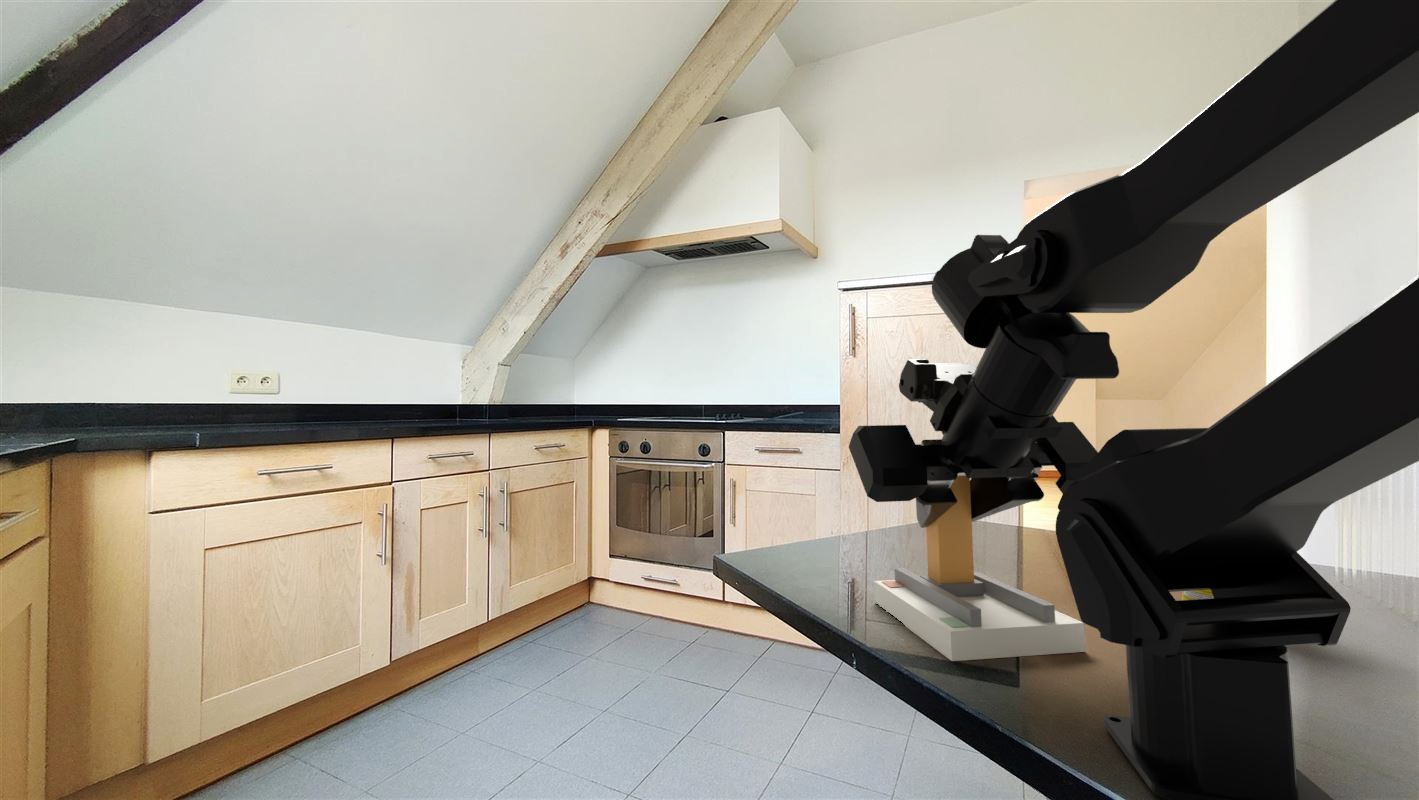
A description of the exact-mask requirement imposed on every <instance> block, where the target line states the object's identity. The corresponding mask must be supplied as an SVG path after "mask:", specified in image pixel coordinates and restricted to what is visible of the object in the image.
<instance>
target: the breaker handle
mask: <svg viewBox="0 0 1419 800" xmlns="http://www.w3.org/2000/svg"><path fill="white" fill-rule="evenodd" d="M970 480H971V478H967V476H966V475H959V476H957V478H956V480H955V481H954V482H953V483H952V485H951V486H950V488H951V490H952V492H953V493H954V495H955V497H956V499H957V503H956V504H955V505H953V506H952V507H951V508H950V509H949V510H947V511H946V512H945V513H944V514H943V515H941V516H940V517H939V518H938V519H937V520H936V521H934V522H933V523H932V524H930V525H929V526H927V527H925V529H926V530H925V531H926V551H927V552H926V553H927V554H926V555H927V557H926V558H927V575H919V577H921V578H923V579H925V580H927V581H929V582H931V583H933V584H934V585H936V586H938V587H940V588H942V589H944V590H946V591H948V592H949V593H951V594H953V595H955V596H957V597H961V596H979V595H984V585H983V583H982V582H980V581H978V580H976V579H974V571H975V569H974V568H975V567H974V565H975V564H974V548H973V547H974V546H973V545H974V544H973V524H972V523H973V522H972V518H971V495H970Z"/></svg>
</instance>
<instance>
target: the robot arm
mask: <svg viewBox="0 0 1419 800" xmlns="http://www.w3.org/2000/svg"><path fill="white" fill-rule="evenodd" d="M1417 114H1419V0H1333V1H1332V2H1331V3H1330V4H1329V5H1328V6H1326V7H1325V8H1324V9H1322V10H1321V11H1320V12H1319V13H1318V14H1317V15H1315V16H1314V17H1313V18H1312V19H1311V20H1309V21H1308V22H1307V23H1306V24H1305V25H1304V26H1302V27H1301V28H1300V29H1298V31H1296V32H1295V33H1294V34H1293V35H1291V36H1290V37H1289V38H1288V39H1287V40H1285V41H1284V42H1283V43H1282V44H1281V45H1279V47H1277V48H1276V49H1275V50H1274V51H1272V52H1271V53H1270V54H1269V55H1268V56H1266V57H1265V58H1264V59H1263V60H1262V61H1261V62H1259V63H1258V64H1257V65H1255V67H1253V68H1252V69H1251V70H1250V71H1248V73H1246V74H1245V75H1244V76H1243V77H1241V78H1240V79H1239V80H1238V81H1237V82H1235V83H1234V84H1232V86H1231V87H1229V88H1228V89H1227V90H1226V91H1225V92H1223V93H1222V94H1221V95H1220V96H1218V97H1217V98H1216V99H1215V100H1214V101H1212V102H1211V103H1210V104H1209V105H1208V106H1207V107H1205V108H1204V109H1203V110H1202V111H1201V112H1200V113H1198V114H1197V115H1196V116H1195V117H1193V118H1192V119H1191V120H1190V121H1189V122H1187V123H1186V124H1185V125H1184V126H1183V127H1182V128H1181V129H1179V130H1178V131H1176V132H1175V133H1174V134H1173V135H1172V136H1171V137H1170V138H1169V139H1167V140H1166V141H1164V142H1163V143H1162V144H1161V145H1160V146H1159V147H1158V148H1156V149H1155V150H1154V151H1153V152H1152V153H1150V154H1149V155H1148V156H1147V157H1146V158H1144V159H1143V160H1141V161H1140V162H1138V163H1137V164H1135V165H1134V166H1132V167H1130V168H1128V169H1127V170H1125V171H1123V172H1122V173H1118V174H1116V175H1114V176H1112V177H1109V178H1105V179H1103V180H1100V181H1098V182H1095V183H1093V184H1090V185H1087V186H1084V187H1082V188H1080V189H1079V188H1078V189H1077V190H1073V191H1072V192H1070V193H1068V194H1067V195H1065V196H1064V197H1062V198H1060V199H1059V200H1058V201H1056V202H1055V203H1053V204H1052V205H1050V206H1048V207H1046V208H1045V209H1044V210H1043V211H1041V212H1039V213H1038V214H1036V215H1035V216H1034V217H1032V218H1031V219H1029V221H1027V222H1026V224H1025V225H1024V226H1023V228H1022V229H1021V230H1020V232H1019V233H1018V235H1017V236H1016V238H1014V240H1012V241H1011V242H1010V243H1009V242H1008V241H1007V240H1006V238H1004V237H1003V236H1002V235H1001V234H976V235H975V236H974V239H973V241H972V243H971V246H970V247H969V248H966V249H965V250H963V251H960V252H958V253H957V254H955V255H953V256H951V258H949V259H948V260H947V261H946V262H945V263H944V264H943V265H942V266H941V268H939V270H937V271H936V272H935V274H934V276H933V278H932V279H933V280H932V283H931V293H932V297H933V299H934V300H935V302H936V303H937V305H938V306H939V307H940V309H941V310H942V311H943V313H944V314H945V315H946V317H947V319H948V320H949V321H950V323H952V325H953V327H954V328H955V329H956V331H957V332H958V333H959V335H960V336H961V337H962V339H963V340H964V341H965V342H966V343H967V344H968V345H969V346H972V347H974V348H977V349H985V350H984V351H983V353H982V356H981V358H980V360H979V362H978V364H977V366H975V365H973V364H971V363H970V364H969V363H963V362H950V363H949V362H947V363H946V362H944V363H943V362H934V363H933V362H932V363H930V361H929V359H927V358H908V359H907V360H906V362H905V365H904V367H903V368H902V371H901V373H900V378H899V383H898V388H899V392H900V394H901V395H903V396H904V397H905V398H906V399H908V401H909V402H913V403H914V402H917V403H922V404H923V405H924V406H926V407H927V408H928V409H929V410H930V411H932V412H933V413H932V415H931V417H930V420H929V423H930V424H931V426H932V428H933V430H934V431H935V432H941V433H942V435H943V436H942V438H941V439H922V440H921V442H920V443H917V444H916V442H915V441H914V439H913V436H912V435H911V432H910V430H909V428H908V426H907V425H906V424H894V425H893V424H885V425H884V424H883V425H858V426H857V427H856V428H855V430H854V431H853V433H852V436H851V438H850V440H849V445H848V449H849V452H850V454H851V457H852V460H853V462H854V465H855V467H856V471H857V474H858V476H859V478H860V481H861V483H862V486H863V488H864V491H865V494H866V496H867V497H868V498H869V499H871V500H873V501H875V502H876V503H885V502H886V503H888V502H890V503H891V502H911V501H913V500H914V499H915V505H916V506H915V507H916V520H917V522H918V524H919V527H920V528H922V529H923V528H924V529H926V527H927V526H929V525H930V524H932V523H933V522H934V521H936V520H937V519H938V518H939V517H940V516H941V515H943V514H944V513H945V512H946V511H947V510H949V509H950V508H951V507H952V506H953V505H955V504H956V503H957V499H956V497H955V495H954V493H953V492H952V490H951V488H950V486H951V485H952V483H953V482H954V481H955V480H956V478H957V476H959V475H966V476H967V478H970V495H971V518H972V523H974V522H976V521H980V520H982V519H984V518H987V517H990V516H992V515H993V516H994V515H995V514H998V513H1001V512H1004V511H1006V510H1010V509H1014V508H1016V507H1019V506H1022V505H1026V504H1028V503H1032V502H1039V501H1041V500H1042V499H1044V497H1045V493H1044V491H1043V490H1042V488H1041V487H1040V485H1039V483H1037V480H1038V479H1039V474H1038V473H1040V472H1041V470H1042V469H1043V467H1048V466H1049V467H1050V466H1051V467H1052V466H1053V467H1054V468H1055V469H1056V470H1057V472H1058V473H1059V475H1060V476H1059V478H1058V479H1057V480H1056V481H1055V485H1056V487H1057V488H1058V490H1060V492H1061V493H1062V495H1061V497H1060V499H1059V503H1058V505H1057V509H1058V513H1057V516H1056V520H1055V535H1056V540H1057V544H1058V546H1059V547H1058V548H1059V551H1060V554H1061V557H1062V560H1063V565H1064V568H1065V571H1066V574H1067V578H1068V581H1069V583H1070V587H1071V591H1072V595H1073V598H1074V601H1075V605H1076V608H1077V611H1078V615H1079V618H1080V620H1081V622H1083V623H1084V625H1087V626H1089V627H1092V628H1094V629H1096V630H1098V632H1099V633H1100V634H1099V635H1100V638H1101V639H1103V640H1105V641H1107V642H1110V643H1113V644H1118V645H1124V646H1125V657H1126V671H1127V672H1126V673H1127V674H1126V675H1127V676H1126V677H1127V692H1128V693H1127V695H1128V707H1129V708H1128V710H1129V712H1128V713H1129V716H1124V715H1115V714H1105V715H1104V716H1103V725H1104V727H1105V730H1107V732H1108V733H1109V734H1110V736H1111V737H1112V738H1113V739H1114V742H1115V743H1116V744H1117V745H1118V747H1119V748H1120V749H1121V751H1122V752H1123V753H1124V756H1125V757H1126V758H1127V759H1128V760H1129V762H1130V763H1131V765H1132V766H1133V767H1134V769H1135V770H1136V771H1137V772H1138V774H1139V775H1140V777H1141V778H1142V780H1143V782H1144V783H1145V784H1146V785H1147V786H1148V788H1149V789H1150V791H1151V792H1152V793H1154V794H1155V795H1156V796H1157V797H1159V798H1161V799H1164V800H1335V799H1334V798H1332V797H1331V796H1330V795H1329V794H1328V793H1326V792H1325V791H1324V790H1323V789H1322V788H1321V787H1319V786H1318V785H1317V784H1316V783H1315V782H1313V781H1312V780H1311V779H1310V778H1309V777H1307V776H1306V775H1305V774H1304V773H1303V772H1301V771H1300V770H1299V769H1298V768H1297V764H1296V752H1295V750H1296V749H1295V737H1294V736H1295V735H1294V724H1293V723H1294V721H1293V708H1292V707H1293V706H1292V694H1291V682H1290V681H1291V680H1290V666H1289V665H1290V664H1289V654H1288V652H1289V651H1288V647H1298V646H1310V645H1318V646H1320V647H1321V646H1322V647H1326V646H1327V647H1329V646H1330V647H1331V646H1335V645H1338V642H1339V640H1340V637H1341V635H1342V633H1343V630H1344V628H1345V626H1346V623H1347V620H1348V618H1349V616H1350V614H1351V606H1350V603H1349V602H1348V601H1347V600H1346V598H1344V597H1343V596H1342V595H1341V594H1340V592H1339V591H1338V590H1336V589H1335V587H1333V586H1332V585H1331V584H1330V583H1329V582H1328V581H1327V580H1326V578H1324V577H1323V576H1322V575H1321V574H1320V573H1319V572H1318V571H1317V570H1316V569H1315V568H1314V567H1313V566H1312V565H1310V563H1309V562H1308V561H1307V560H1306V559H1305V558H1303V556H1302V555H1301V554H1300V553H1299V552H1298V551H1300V550H1302V549H1303V548H1304V546H1305V545H1306V544H1307V541H1308V539H1309V537H1310V536H1311V534H1312V532H1313V529H1314V528H1315V526H1316V524H1317V522H1318V520H1319V518H1320V516H1321V514H1322V513H1323V512H1324V511H1325V510H1326V509H1328V508H1329V507H1330V506H1331V505H1333V504H1335V503H1336V502H1338V501H1340V500H1342V499H1344V498H1346V497H1348V496H1350V495H1352V494H1355V493H1356V492H1358V491H1361V490H1362V489H1365V488H1366V487H1369V486H1370V485H1372V484H1375V483H1376V482H1378V481H1380V480H1381V481H1382V480H1383V479H1385V478H1386V477H1389V476H1391V475H1393V474H1395V473H1397V472H1399V471H1401V470H1404V469H1405V468H1407V467H1409V466H1412V465H1414V464H1417V463H1418V462H1419V273H1418V274H1416V275H1415V276H1414V277H1413V278H1411V279H1410V280H1408V281H1407V282H1406V283H1404V284H1403V285H1401V286H1400V287H1399V288H1398V289H1397V290H1395V291H1394V292H1392V293H1391V294H1389V295H1388V296H1387V297H1386V298H1384V299H1383V300H1381V301H1380V302H1378V303H1377V304H1375V306H1372V308H1371V309H1369V310H1367V311H1366V312H1365V313H1364V314H1362V315H1360V316H1359V317H1358V318H1357V319H1355V320H1354V321H1353V322H1351V323H1350V324H1348V325H1347V326H1346V327H1344V328H1343V329H1342V330H1340V331H1339V332H1337V333H1335V335H1332V337H1331V338H1329V339H1328V340H1327V341H1325V342H1324V343H1323V344H1321V345H1319V346H1318V348H1316V349H1314V350H1313V351H1312V352H1310V353H1309V354H1307V355H1306V356H1305V357H1303V358H1302V359H1301V360H1299V361H1297V362H1296V363H1295V364H1294V365H1292V366H1291V367H1289V368H1288V369H1287V370H1286V371H1284V372H1282V374H1280V375H1279V376H1277V377H1276V378H1275V379H1273V380H1272V381H1270V382H1269V383H1268V384H1267V385H1265V386H1264V387H1263V388H1261V389H1260V390H1258V391H1257V392H1255V393H1254V394H1253V395H1252V396H1250V397H1249V398H1247V399H1246V400H1245V401H1243V402H1242V403H1241V404H1239V405H1238V406H1237V407H1235V408H1234V409H1232V410H1231V411H1230V412H1228V413H1227V414H1225V415H1224V416H1223V417H1222V418H1219V420H1217V421H1216V422H1215V423H1214V424H1211V426H1209V427H1192V428H1191V427H1188V428H1187V427H1185V428H1182V427H1181V428H1178V427H1177V428H1140V429H1137V428H1136V429H1123V430H1121V431H1120V432H1118V433H1117V434H1115V435H1114V436H1113V437H1111V438H1109V439H1108V440H1107V441H1106V442H1105V443H1104V445H1103V446H1102V447H1101V448H1100V450H1099V451H1098V450H1097V449H1096V448H1095V447H1094V446H1093V444H1092V443H1091V442H1090V441H1089V439H1088V438H1087V437H1086V436H1085V435H1084V433H1083V432H1082V430H1081V429H1079V427H1078V426H1077V425H1076V423H1075V422H1074V421H1058V420H1057V419H1056V417H1055V416H1054V414H1055V412H1056V411H1057V409H1058V408H1059V407H1060V405H1061V403H1062V402H1063V400H1064V399H1065V397H1066V396H1067V394H1068V393H1069V391H1070V390H1071V388H1072V386H1073V385H1074V384H1075V382H1076V380H1097V379H1098V380H1100V379H1102V380H1106V379H1107V380H1108V379H1112V380H1113V379H1116V378H1117V377H1118V376H1119V375H1120V368H1119V361H1118V358H1117V356H1116V355H1115V354H1114V352H1113V350H1112V347H1111V342H1110V339H1111V338H1110V333H1108V332H1107V331H1090V330H1089V329H1088V328H1087V327H1086V326H1085V324H1083V323H1082V322H1081V321H1080V320H1079V319H1078V318H1077V317H1076V316H1075V315H1073V314H1131V313H1134V312H1137V311H1140V310H1143V309H1146V307H1148V306H1150V305H1152V303H1154V302H1155V301H1156V300H1157V299H1159V298H1160V297H1162V296H1163V295H1164V294H1166V293H1167V292H1168V291H1169V290H1171V289H1172V288H1173V287H1174V286H1175V285H1177V284H1178V283H1180V282H1181V281H1182V280H1183V279H1185V278H1186V277H1187V276H1189V275H1190V274H1191V273H1192V272H1194V270H1195V269H1196V268H1197V267H1198V265H1199V263H1200V261H1201V259H1202V257H1203V256H1204V254H1205V252H1206V250H1207V248H1208V247H1209V244H1210V242H1211V241H1213V240H1214V239H1215V238H1217V237H1218V236H1219V235H1220V234H1222V233H1223V232H1224V231H1226V230H1227V229H1228V228H1229V227H1230V226H1232V225H1234V224H1235V223H1237V222H1238V221H1240V220H1241V219H1243V218H1245V217H1246V216H1248V215H1250V214H1252V213H1253V212H1255V211H1257V210H1258V209H1260V208H1261V207H1264V206H1265V205H1266V204H1269V203H1270V202H1271V201H1273V200H1275V199H1276V198H1278V197H1281V195H1283V194H1285V193H1287V192H1288V191H1290V190H1291V189H1293V188H1295V187H1296V186H1298V185H1300V184H1301V183H1303V182H1305V181H1307V180H1308V179H1310V178H1312V177H1313V176H1315V175H1317V174H1318V173H1320V172H1321V171H1323V170H1325V169H1326V168H1328V167H1330V166H1331V165H1333V164H1335V163H1336V162H1338V161H1340V160H1341V159H1344V158H1345V157H1346V156H1348V155H1350V154H1351V153H1353V152H1355V151H1356V150H1358V149H1359V148H1362V147H1363V146H1365V145H1367V144H1369V143H1370V142H1371V141H1373V140H1375V139H1377V138H1378V137H1380V136H1382V135H1383V134H1385V133H1387V132H1388V131H1390V130H1392V129H1393V128H1395V127H1397V126H1398V125H1400V124H1402V123H1404V122H1406V121H1407V120H1408V119H1411V117H1413V116H1415V115H1417ZM1194 590H1211V592H1212V594H1213V597H1214V599H1197V600H1182V599H1180V600H1176V599H1175V598H1174V595H1172V593H1173V592H1182V591H1194Z"/></svg>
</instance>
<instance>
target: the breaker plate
mask: <svg viewBox="0 0 1419 800" xmlns="http://www.w3.org/2000/svg"><path fill="white" fill-rule="evenodd" d="M974 579H976V580H978V581H980V582H982V583H983V585H984V595H979V596H961V597H957V596H955V595H953V594H951V593H949V592H948V591H946V590H944V589H942V588H940V587H938V586H936V585H934V584H933V583H931V582H929V581H927V580H925V579H923V578H921V577H920V575H917V574H916V573H914V572H912V571H910V570H908V569H906V568H904V567H894V579H887V580H873V586H874V587H873V591H874V592H873V595H874V596H873V597H874V601H875V600H876V601H877V602H878V603H879V604H880V605H882V606H883V607H884V608H885V609H886V610H887V611H888V612H889V613H891V614H892V615H893V616H894V617H896V618H897V619H898V620H899V621H901V622H902V623H903V624H904V625H905V627H906V628H907V629H908V630H910V631H911V632H913V633H914V634H915V635H916V636H917V637H919V638H920V639H921V640H923V641H924V642H926V643H927V644H928V645H929V646H931V647H932V648H934V649H935V650H936V651H938V652H939V654H941V655H943V657H946V658H947V659H948V660H949V661H951V662H958V661H959V662H961V661H972V660H973V661H974V660H975V661H976V660H986V659H987V660H989V659H1000V658H1002V659H1003V658H1016V657H1017V658H1018V657H1030V656H1043V655H1045V656H1046V655H1058V654H1072V653H1074V654H1075V653H1085V652H1086V640H1085V639H1086V638H1085V636H1086V635H1085V623H1083V622H1082V621H1080V620H1079V619H1076V618H1073V617H1071V616H1069V615H1067V614H1064V613H1062V612H1060V611H1058V610H1056V608H1055V604H1053V603H1050V602H1049V601H1047V600H1044V599H1041V598H1039V597H1037V596H1035V595H1032V594H1031V593H1027V592H1025V591H1023V590H1020V589H1018V588H1017V587H1013V586H1011V585H1008V584H1006V583H1005V582H1002V581H999V580H997V579H994V578H993V577H990V576H987V575H985V574H982V573H980V572H979V571H976V570H974ZM894 617H893V618H894ZM898 620H897V621H898ZM899 621H898V622H899ZM902 623H901V624H902ZM903 624H902V625H903ZM904 625H903V626H904Z"/></svg>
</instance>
